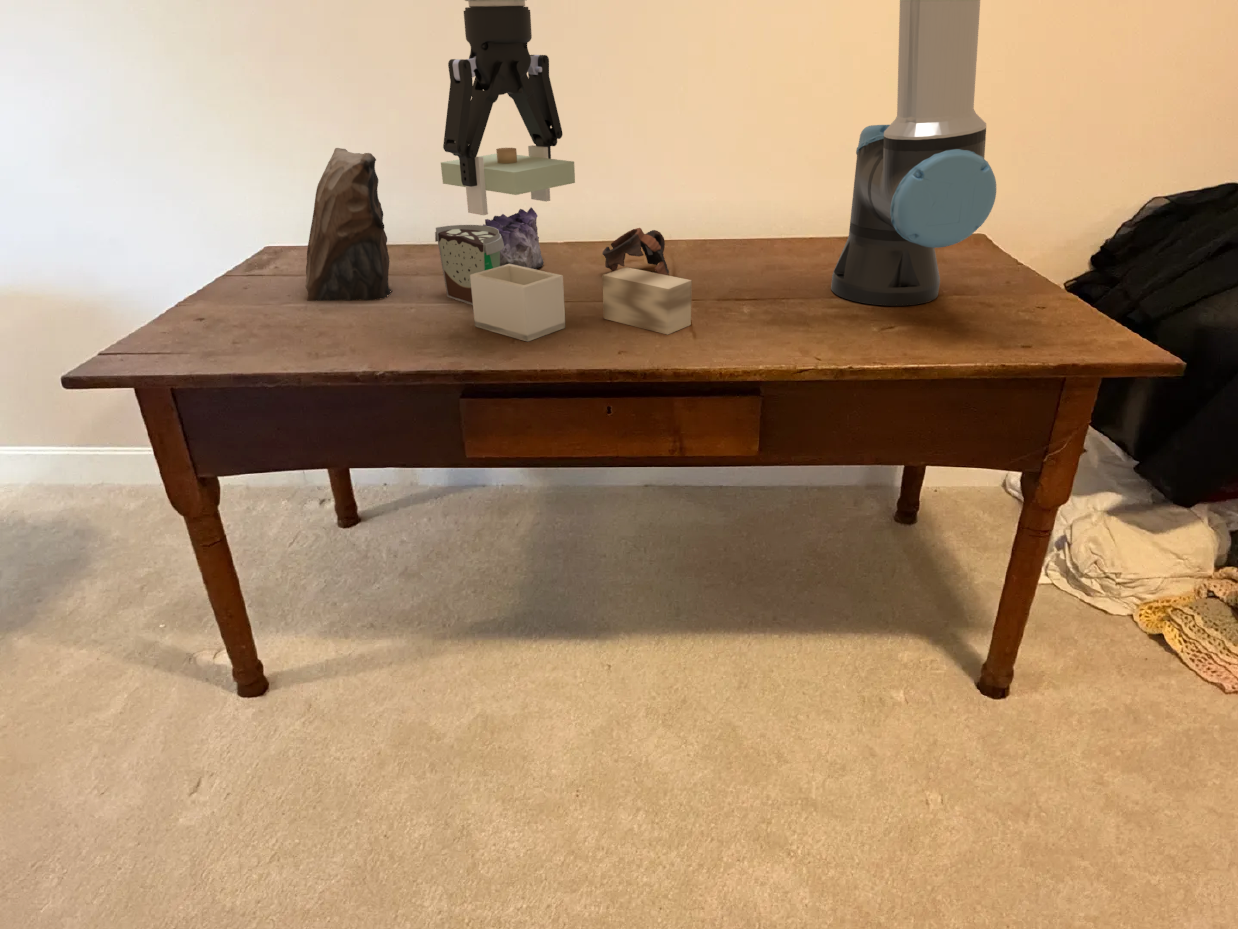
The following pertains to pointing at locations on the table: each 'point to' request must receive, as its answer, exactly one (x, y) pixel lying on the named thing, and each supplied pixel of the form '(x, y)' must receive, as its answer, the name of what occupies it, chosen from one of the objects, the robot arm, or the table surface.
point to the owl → (347, 233)
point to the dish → (518, 301)
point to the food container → (466, 256)
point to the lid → (515, 172)
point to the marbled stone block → (647, 300)
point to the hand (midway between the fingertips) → (510, 206)
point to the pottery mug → (637, 249)
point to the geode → (518, 239)
